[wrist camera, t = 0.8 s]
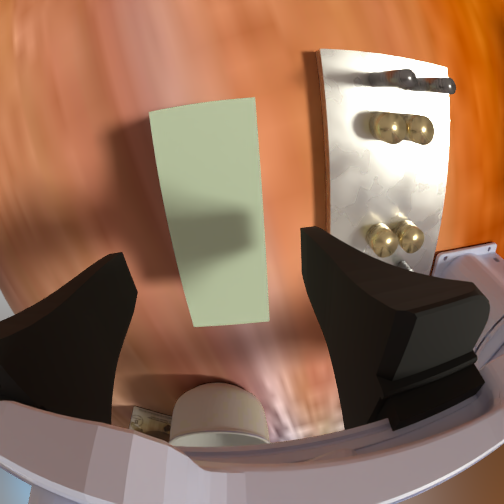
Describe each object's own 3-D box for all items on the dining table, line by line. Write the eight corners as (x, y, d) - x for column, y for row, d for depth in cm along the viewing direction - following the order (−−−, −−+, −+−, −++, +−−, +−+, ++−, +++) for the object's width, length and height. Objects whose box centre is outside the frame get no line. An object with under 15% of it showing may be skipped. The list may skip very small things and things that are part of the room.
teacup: (156, 381, 28) (146, 441, 21) (241, 359, 27) (243, 430, 20) (217, 427, 35) (217, 475, 28) (287, 411, 33) (295, 463, 26)
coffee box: (196, 420, 34) (191, 523, 20) (185, 434, 36) (181, 524, 22) (132, 404, 31) (114, 508, 17) (129, 420, 34) (114, 510, 20)
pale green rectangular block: (248, 100, 15) (254, 97, 10) (261, 266, 21) (269, 321, 16) (176, 109, 15) (148, 112, 10) (202, 271, 21) (194, 327, 16)
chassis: (438, 67, 14) (483, 68, 9) (423, 271, 22) (451, 304, 18) (315, 51, 14) (343, 35, 9) (324, 289, 23) (342, 332, 18)
